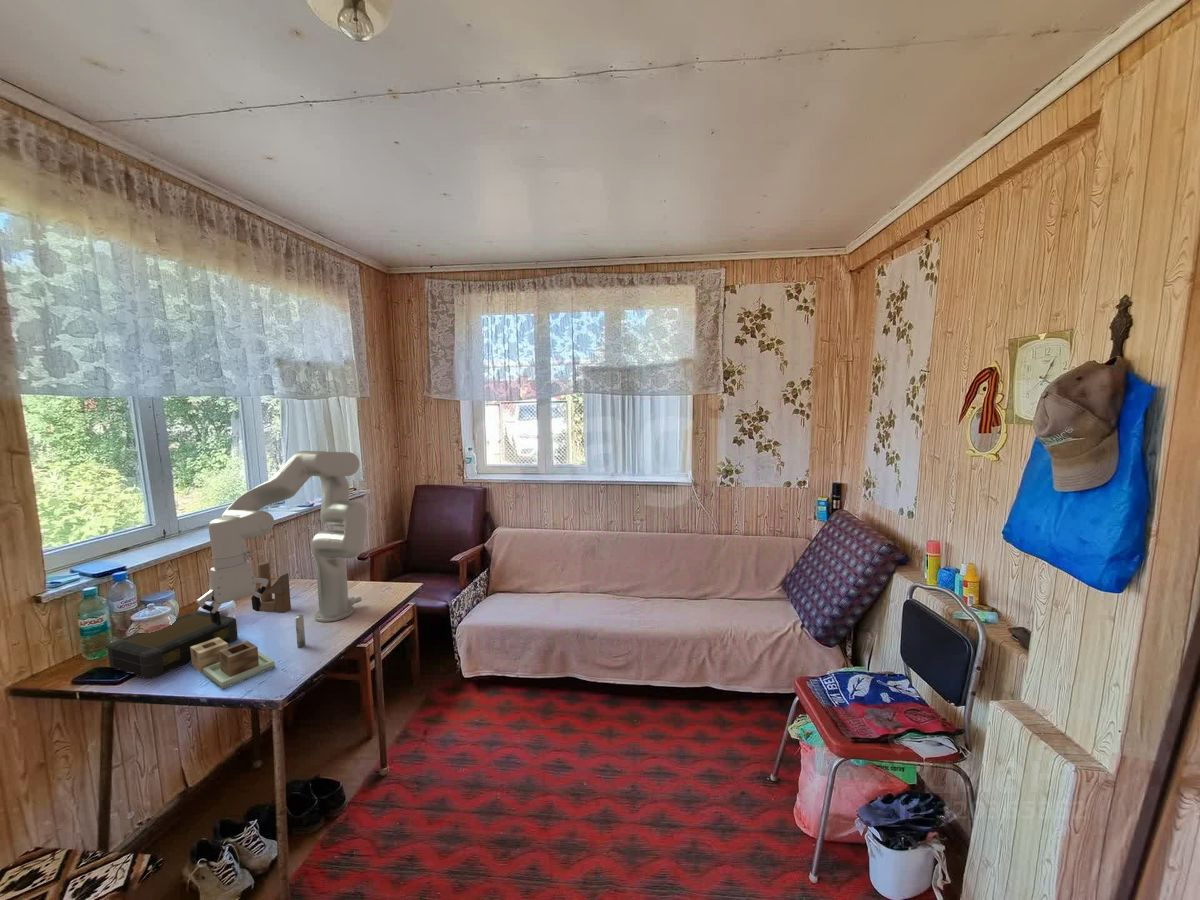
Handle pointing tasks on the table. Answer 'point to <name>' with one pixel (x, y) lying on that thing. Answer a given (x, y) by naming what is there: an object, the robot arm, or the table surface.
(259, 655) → the tray
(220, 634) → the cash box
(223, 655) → the walnut block
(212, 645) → the oak block
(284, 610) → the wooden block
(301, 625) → the pin gauge
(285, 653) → the table surface
